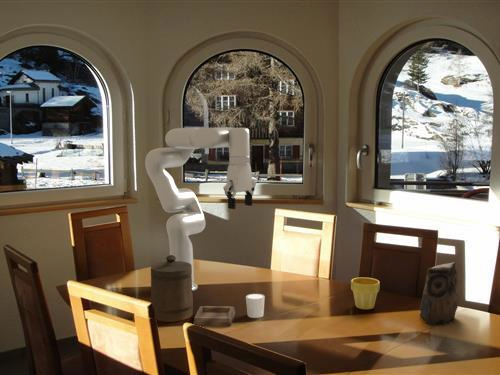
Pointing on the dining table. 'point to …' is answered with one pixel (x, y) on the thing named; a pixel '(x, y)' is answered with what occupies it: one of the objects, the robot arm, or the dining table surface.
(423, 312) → the owl
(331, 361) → the dining table surface
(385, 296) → the dining table surface
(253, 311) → the white cup
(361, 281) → the plant pot
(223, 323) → the square wooden tray
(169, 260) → the wooden container
